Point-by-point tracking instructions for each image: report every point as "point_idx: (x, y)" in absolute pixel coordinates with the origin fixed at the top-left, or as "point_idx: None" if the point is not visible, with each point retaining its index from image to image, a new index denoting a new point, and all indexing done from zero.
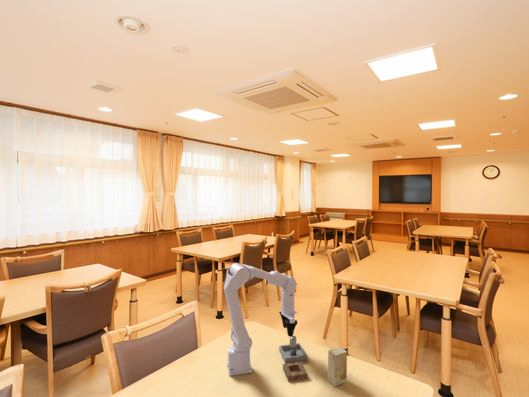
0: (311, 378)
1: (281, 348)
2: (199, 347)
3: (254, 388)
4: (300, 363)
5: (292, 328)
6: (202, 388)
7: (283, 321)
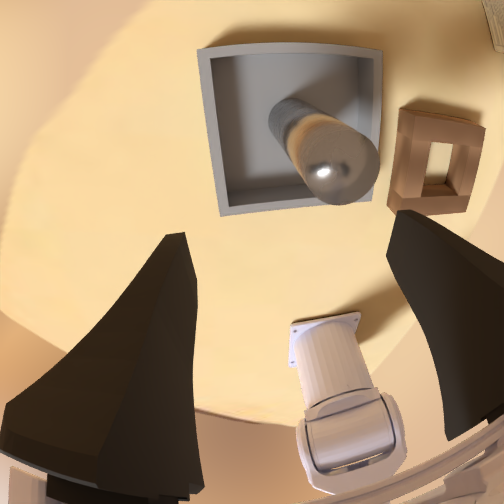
0: (473, 103)
1: (259, 207)
2: None
3: None
4: (427, 125)
5: (468, 278)
6: None
7: (190, 360)
